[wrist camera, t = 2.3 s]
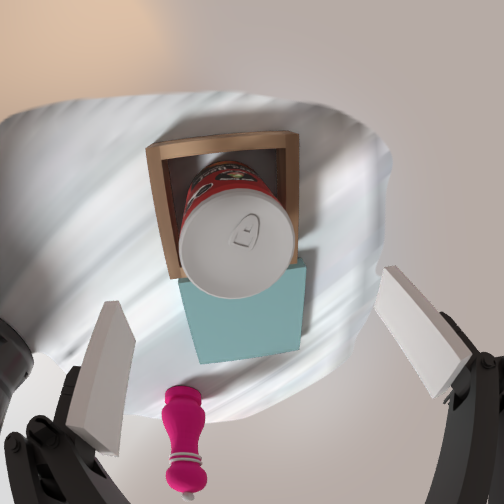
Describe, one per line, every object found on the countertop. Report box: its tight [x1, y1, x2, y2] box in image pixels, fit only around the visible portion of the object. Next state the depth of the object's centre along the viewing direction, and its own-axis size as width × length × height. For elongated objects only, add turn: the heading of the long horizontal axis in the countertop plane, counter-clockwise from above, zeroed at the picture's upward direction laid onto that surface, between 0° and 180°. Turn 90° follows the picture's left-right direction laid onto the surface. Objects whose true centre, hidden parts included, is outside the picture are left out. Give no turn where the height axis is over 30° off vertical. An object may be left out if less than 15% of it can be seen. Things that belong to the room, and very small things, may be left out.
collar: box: [145, 131, 299, 279], centre depth 26 cm, size 13×13×4 cm
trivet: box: [178, 258, 306, 364], centre depth 34 cm, size 14×14×2 cm
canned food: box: [179, 161, 295, 299], centre depth 23 cm, size 8×8×11 cm
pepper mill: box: [162, 386, 207, 502], centre depth 34 cm, size 7×7×20 cm
